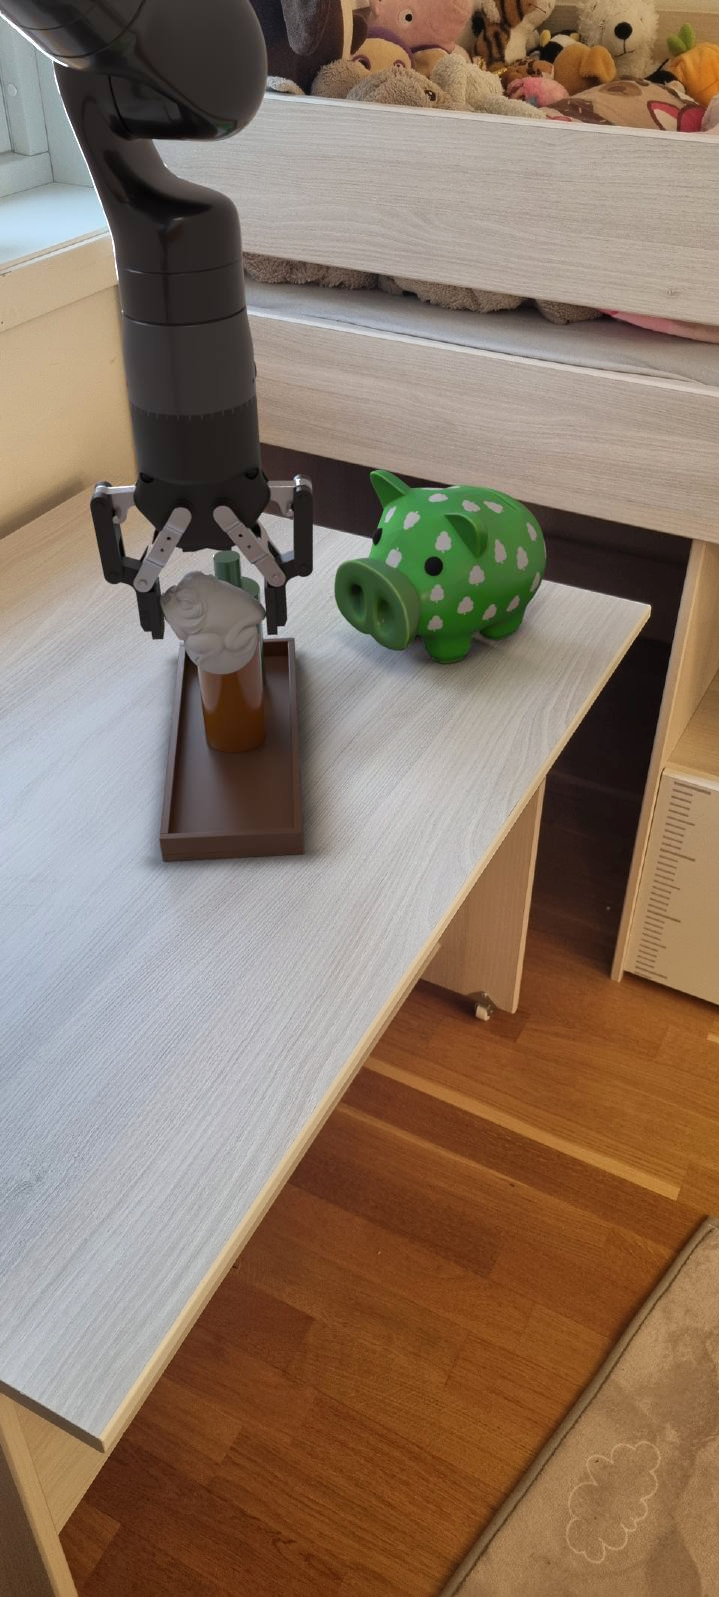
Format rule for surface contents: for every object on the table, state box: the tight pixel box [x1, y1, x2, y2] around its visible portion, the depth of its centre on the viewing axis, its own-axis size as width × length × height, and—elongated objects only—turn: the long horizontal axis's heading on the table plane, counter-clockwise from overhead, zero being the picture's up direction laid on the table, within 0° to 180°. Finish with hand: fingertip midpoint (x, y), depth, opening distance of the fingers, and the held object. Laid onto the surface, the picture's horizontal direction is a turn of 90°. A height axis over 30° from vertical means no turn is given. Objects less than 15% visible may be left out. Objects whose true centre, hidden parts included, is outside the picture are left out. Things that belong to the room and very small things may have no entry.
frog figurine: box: [160, 570, 266, 674], centre depth 80 cm, size 6×7×7 cm
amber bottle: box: [197, 633, 267, 753], centre depth 94 cm, size 5×5×12 cm
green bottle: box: [212, 550, 266, 687], centre depth 100 cm, size 5×5×12 cm
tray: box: [158, 637, 305, 862], centre depth 96 cm, size 27×10×2 cm, turn 4°
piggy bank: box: [333, 469, 547, 664], centre depth 106 cm, size 14×18×15 cm
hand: (216, 631), depth 81 cm, fingers closed on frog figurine, 7 cm apart
